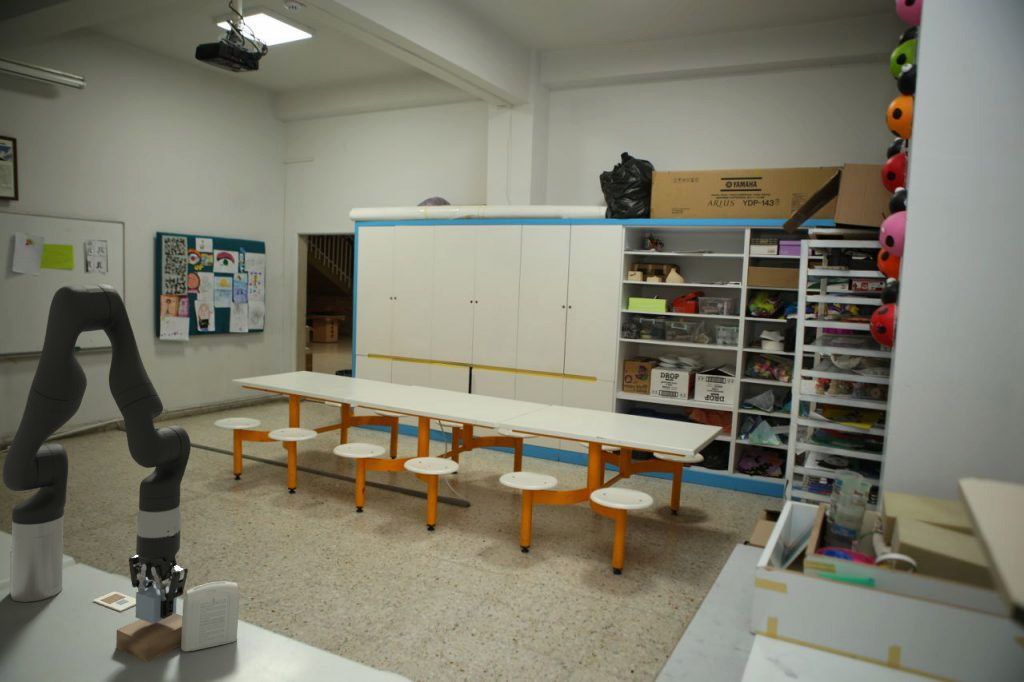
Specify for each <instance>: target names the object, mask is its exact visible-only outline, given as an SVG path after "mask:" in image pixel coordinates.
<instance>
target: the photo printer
mask: <svg viewBox="0 0 1024 682" xmlns="http://www.w3.org/2000/svg"><path fill="white" fill-rule="evenodd" d="M184 595H185V596H184V597H183V598H184V599H183V602H182V616H183V617H182V637H181V645H180V649H181V651H183V652H192V651H197V650H202V649H208V648H211V647H216V646H217V647H218V646H222V645H226V644H230V643H233V642H236V640H237V638H238V624H239V607H240V606H239V605H240V590H239V587H238V583H237V582H234V581H227V580H226V581H223V580H222V581H221V580H220V581H213V582H211V581H210V582H207V583H203V584H201V585H196V586H194V587H192V588H189V589H188V590H186V591H185V594H184Z"/></svg>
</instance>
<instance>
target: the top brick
mask: <svg viewBox="0 0 1024 682" xmlns="http://www.w3.org/2000/svg"><path fill="white" fill-rule="evenodd" d="M176 590H177V589H176ZM166 592H167V593H168V592H169V587H166ZM135 599H136V605H135V618H136V619H137V620H140V619H141V620H144V621H147V622H149V623H152V624H155V623H157V622H159V621H161V620H163V618H161V617H160V611H161V600H162V599H161V595H160V591H159V590H158V589H157V588H156V584H155V583H154V585H153V586H150V587H148V588H146V589H143V590H141V591H136V592H135ZM177 599H178V597H176V598H174V607H173V613H172V615H173V614H175V613H176V614H177Z"/></svg>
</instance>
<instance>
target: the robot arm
mask: <svg viewBox="0 0 1024 682" xmlns="http://www.w3.org/2000/svg"><path fill="white" fill-rule="evenodd" d="M48 311H49V312H48V317H47V322H46V323H47V324H46V330H45V336H44V341H43V345H42V349H41V353H40V357H39V361H38V364H37V367H36V371H35V374H34V375H33V379H32V381H31V386H30V388H29V392H28V395H27V400H26V403H25V407H24V410H23V413H22V417H21V421H20V423H19V426H18V428H17V430H16V433H15V434H14V437H13V439H12V442H11V444H10V446H9V448H8V451H7V453H6V455H5V459H4V462H3V467H2V479H3V480H2V481H3V483H4V485H5V486H6V488H7V489H8V490H9V491H10V490H11V491H12V492H23V491H24V492H25V491H31V490H35V489H38V490H37V491H36V492H35V493H34V494H32V495H31V496H30V497H28V498H27V499H25V500H23V501H21V502H19V503H18V504H16V505H15V506H14V507H13V509H12V513H11V520H12V521H11V550H10V554H9V594H10V598H11V600H13V601H15V602H19V601H20V602H21V603H26V602H27V603H28V602H29V603H30V601H31V602H35V601H36V602H38V601H42V600H45V599H49V598H51V597H53V596H55V595H57V594H59V593H60V592H62V590H63V576H64V575H63V573H64V572H63V570H64V569H63V567H64V561H63V560H64V520H65V519H64V518H65V515H64V514H65V506H66V501H67V487H68V478H69V457H68V453H67V451H66V449H65V447H64V446H63V445H61V444H59V443H48V444H45V443H44V442H45V441H46V440H48V439H49V438H50V437H51V436H52V435H53V434H55V432H57V431H58V430H59V429H61V428H62V427H64V425H66V424H67V423H68V422H69V421H70V420H71V419H72V418H73V417H74V416H75V415H76V414H77V413H78V411H79V409H80V406H81V404H82V402H83V398H84V395H85V393H86V389H87V386H88V385H87V384H88V379H87V376H86V375H87V374H86V373H85V371H84V369H83V367H82V365H81V363H80V362H79V360H78V358H77V357H76V355H75V351H76V350H75V349H76V348H75V347H76V345H77V344H76V343H77V340H78V338H79V336H80V335H81V333H86V332H94V331H103V332H104V333H105V334H106V336H107V338H108V340H109V342H110V345H111V361H110V367H109V374H108V385H109V390H110V393H111V395H112V398H113V400H114V402H115V404H116V406H117V408H118V410H119V411H120V413H121V416H122V417H123V420H124V421H123V422H124V427H125V428H124V429H125V434H126V439H127V446H128V451H129V453H130V456H131V457H132V459H133V461H135V462H136V463H137V464H138V465H139V466H141V467H143V468H146V469H151V468H154V470H153V471H152V472H151V474H149V475H147V476H146V477H145V478H144V479H142V480H141V482H140V484H139V491H138V492H139V493H138V495H139V496H138V497H139V498H138V512H137V513H138V514H137V518H136V542H135V543H136V545H135V547H136V548H135V553H136V555H133V556H130V557H129V558H128V567H129V575H130V580H131V581H130V582H131V586H132V588H137V592H139V591H141V590H143V589H146V588H148V587H150V586H153V585H155V584H156V588H157V589H158V590H159V591H160V595H161V599H162V600H161V611H160V617H161V618H163V619H165V618H167V617H169V616H171V615H172V613H173V607H174V598H176V597H177V598H178V597H180V596H182V595H183V593H184V592H185V591H184V590H185V585H186V581H187V576H188V573H189V569H188V568H187V567H182V568H181V567H180V566H178V563H177V559H176V555H177V554H178V553H179V551H180V549H181V527H182V526H181V525H182V524H181V522H182V521H181V520H182V515H181V514H182V513H181V484H182V481H183V478H184V475H185V472H186V469H187V465H188V463H189V458H190V455H191V450H192V449H191V447H192V444H191V439H190V436H189V433H188V432H187V431H186V429H185V428H183V427H182V426H179V425H168V426H163V427H159V428H155V426H154V419H156V418H157V417H159V416H160V415H161V414H162V413H163V411H164V405H163V402H162V400H161V398H160V396H159V394H158V393H157V390H156V388H155V386H154V384H153V383H152V380H151V379H150V377H149V375H148V373H147V371H146V368H145V365H144V363H143V361H142V360H143V359H142V357H141V354H140V351H139V347H138V342H137V341H136V337H135V334H134V330H133V328H132V324H131V321H130V317H129V314H128V311H127V308H126V306H125V303H124V301H123V298H122V296H121V295H120V293H119V292H118V291H117V289H115V288H114V287H113V286H112V285H110V284H106V283H95V284H94V283H93V284H92V283H91V284H72V285H64V286H62V287H59V289H57V290H56V291H55V293H54V294H53V296H52V300H51V303H50V306H49V310H48ZM138 574H139V579H138ZM167 580H168V581H167ZM166 587H169V592H168V593H167V592H166ZM176 589H177V590H176Z"/></svg>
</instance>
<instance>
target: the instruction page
mask: <svg viewBox="0 0 1024 682" xmlns="http://www.w3.org/2000/svg"><path fill="white" fill-rule="evenodd" d="M92 602H93V603H96V604H99V605H101V606H104V607H106V608H109V609H113V610H115V611H117V612H120V613H121V612H124V611H126V610H127V609H130V608H132V607H134V606H135V607H136V597H132V596H129V595H126V594H124V593H121V592H119V591H115V590H114V591H112V592H110V593H107V594H105V595H101V596H99V597H97V598H95V599H92Z"/></svg>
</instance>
